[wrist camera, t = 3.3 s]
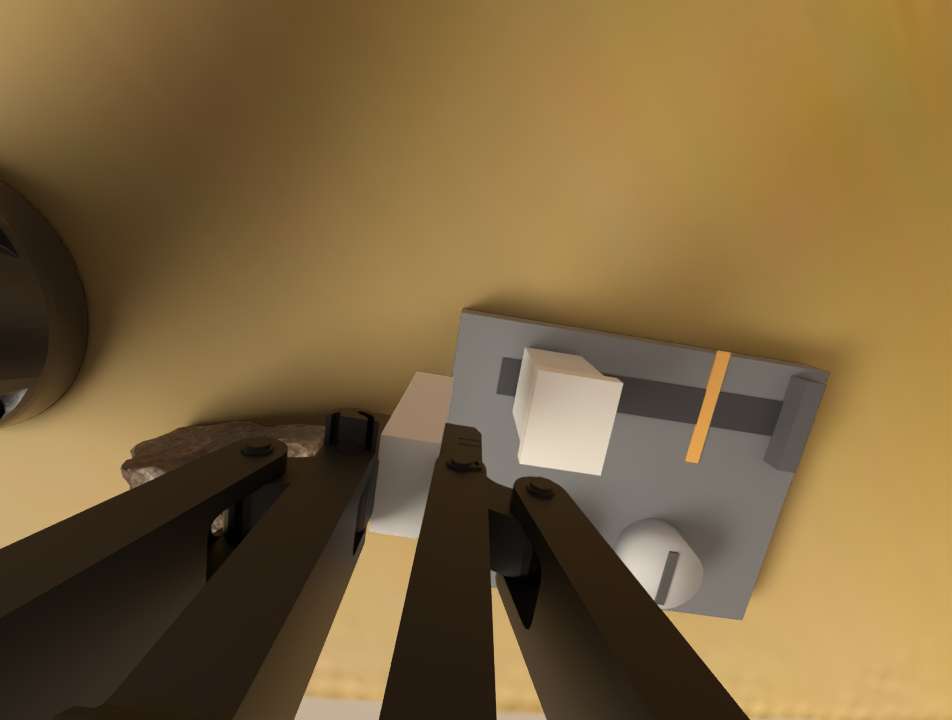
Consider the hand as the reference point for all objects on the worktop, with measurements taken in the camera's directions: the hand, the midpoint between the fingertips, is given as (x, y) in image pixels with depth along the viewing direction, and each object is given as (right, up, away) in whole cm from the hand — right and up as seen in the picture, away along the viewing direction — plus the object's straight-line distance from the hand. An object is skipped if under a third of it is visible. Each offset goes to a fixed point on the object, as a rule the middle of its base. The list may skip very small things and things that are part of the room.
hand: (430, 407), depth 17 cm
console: (+10, -4, +9) cm, 14 cm away
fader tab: (+6, +1, +6) cm, 8 cm away
